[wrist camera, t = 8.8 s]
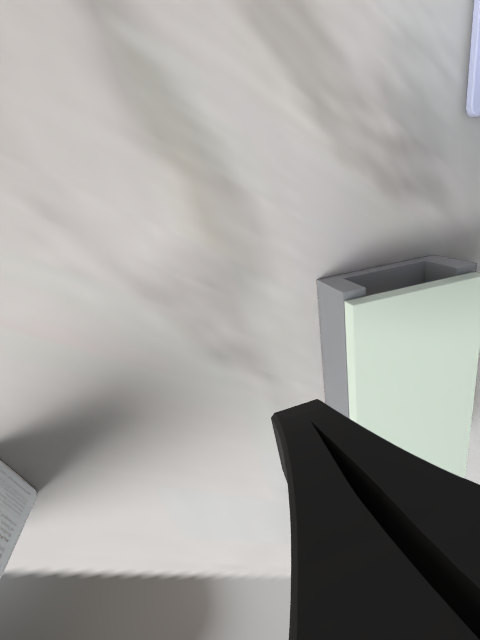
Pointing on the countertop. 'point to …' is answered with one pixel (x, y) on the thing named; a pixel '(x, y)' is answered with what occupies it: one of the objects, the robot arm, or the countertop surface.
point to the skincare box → (12, 510)
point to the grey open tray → (362, 285)
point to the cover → (417, 366)
